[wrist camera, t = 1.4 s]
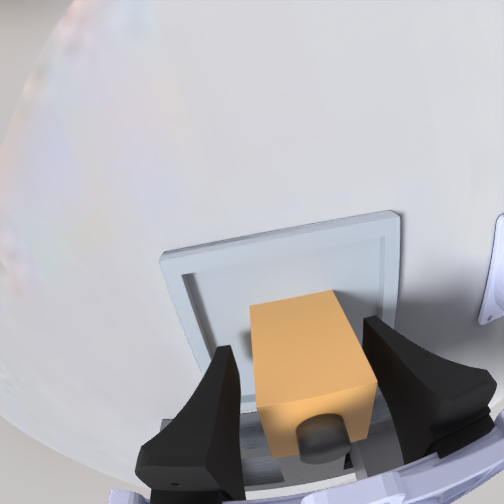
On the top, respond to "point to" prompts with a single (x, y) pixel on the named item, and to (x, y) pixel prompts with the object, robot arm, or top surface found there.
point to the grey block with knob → (376, 454)
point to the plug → (310, 378)
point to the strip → (291, 467)
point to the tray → (282, 281)
